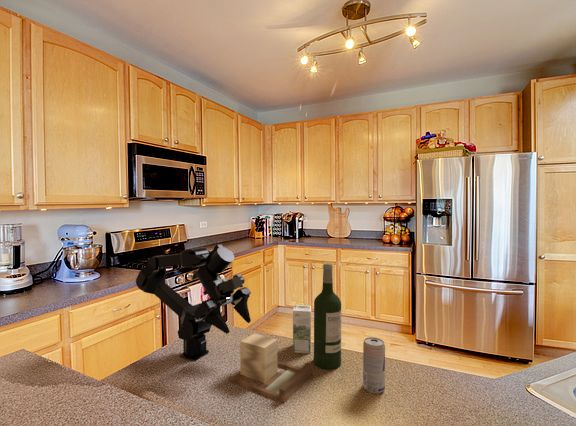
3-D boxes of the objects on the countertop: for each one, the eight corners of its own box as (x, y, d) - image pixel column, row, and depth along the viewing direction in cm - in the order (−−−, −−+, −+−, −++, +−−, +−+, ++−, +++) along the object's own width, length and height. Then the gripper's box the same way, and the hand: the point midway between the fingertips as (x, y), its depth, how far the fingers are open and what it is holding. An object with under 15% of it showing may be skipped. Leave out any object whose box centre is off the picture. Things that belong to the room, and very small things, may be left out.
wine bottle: (335, 376, 82) (335, 267, 82) (309, 369, 86) (309, 264, 86) (344, 364, 89) (345, 263, 89) (320, 357, 93) (320, 260, 92)
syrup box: (311, 348, 99) (311, 304, 99) (310, 357, 93) (310, 310, 93) (293, 347, 99) (294, 304, 99) (292, 356, 93) (292, 310, 93)
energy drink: (385, 384, 78) (385, 338, 78) (384, 396, 73) (384, 347, 73) (364, 380, 80) (364, 335, 80) (362, 391, 75) (362, 344, 75)
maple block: (240, 374, 81) (240, 341, 81) (253, 364, 86) (254, 333, 86) (264, 383, 77) (264, 348, 77) (277, 372, 82) (277, 339, 82)
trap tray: (227, 384, 78) (227, 369, 78) (259, 361, 90) (259, 348, 90) (284, 407, 69) (284, 390, 69) (311, 378, 81) (311, 364, 81)
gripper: (202, 271, 79) (233, 322, 74) (247, 261, 95) (275, 302, 90) (181, 295, 83) (209, 345, 78) (227, 282, 99) (253, 322, 94)
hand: (239, 327), depth 85 cm, fingers open, 9 cm apart
